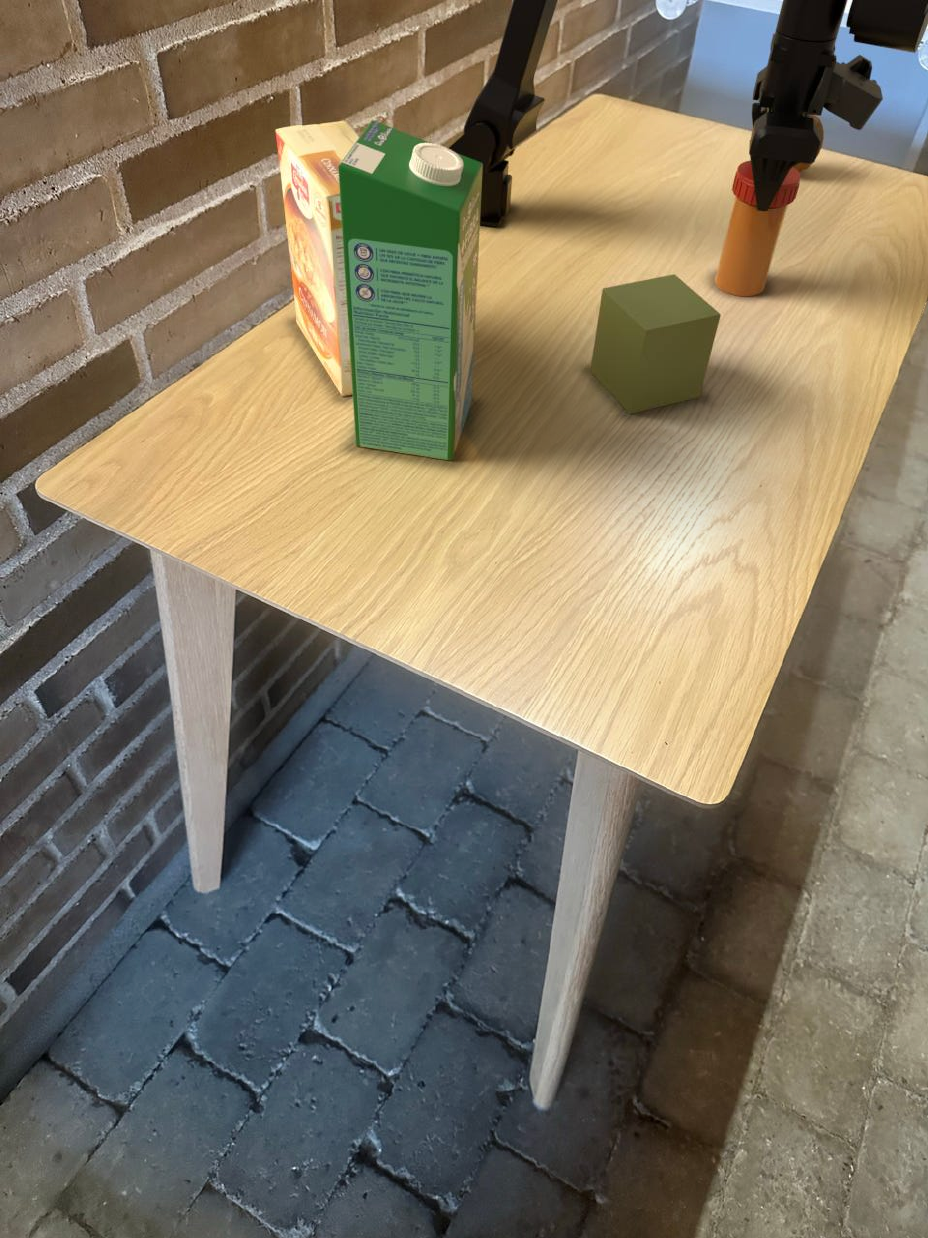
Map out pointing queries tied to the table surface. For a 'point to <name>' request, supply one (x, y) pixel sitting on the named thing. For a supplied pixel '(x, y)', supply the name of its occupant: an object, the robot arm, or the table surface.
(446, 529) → the table surface
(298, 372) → the table surface
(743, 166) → the lid
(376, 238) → the milk carton
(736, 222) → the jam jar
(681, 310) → the tea box
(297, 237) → the coffeecake box
